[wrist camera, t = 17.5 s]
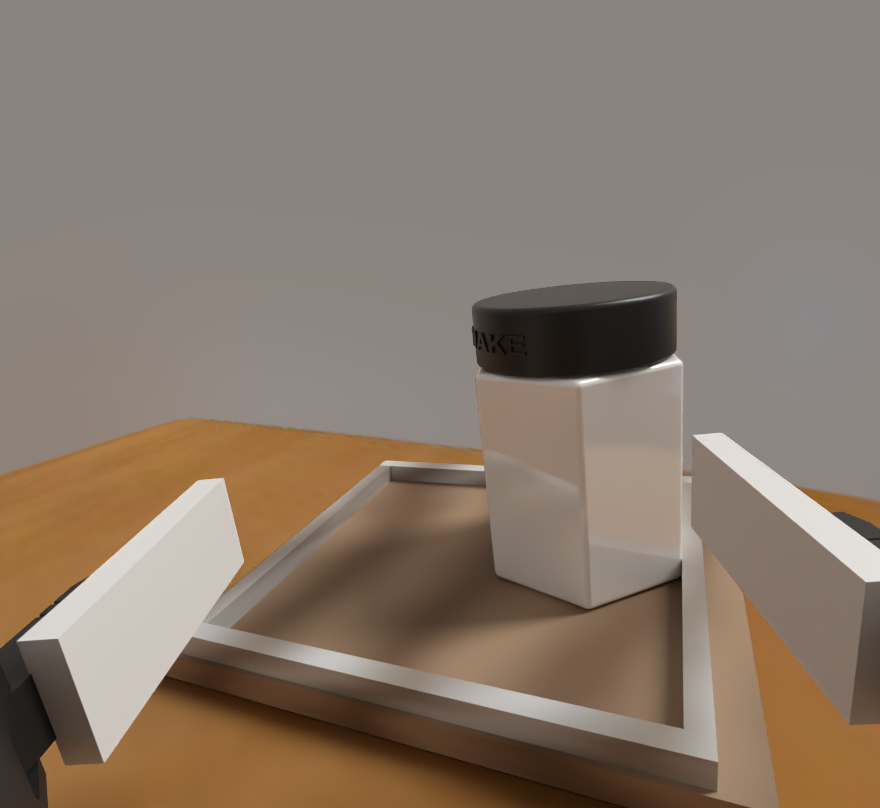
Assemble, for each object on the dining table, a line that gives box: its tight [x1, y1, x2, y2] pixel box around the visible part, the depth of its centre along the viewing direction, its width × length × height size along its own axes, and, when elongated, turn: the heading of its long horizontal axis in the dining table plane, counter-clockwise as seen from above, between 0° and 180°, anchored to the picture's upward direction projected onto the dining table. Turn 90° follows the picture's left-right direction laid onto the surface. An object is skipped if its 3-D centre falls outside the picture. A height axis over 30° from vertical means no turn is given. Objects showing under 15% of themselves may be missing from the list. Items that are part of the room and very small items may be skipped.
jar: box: [472, 281, 683, 609], centre depth 24 cm, size 9×8×12 cm
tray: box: [165, 461, 780, 808], centre depth 26 cm, size 22×18×2 cm
